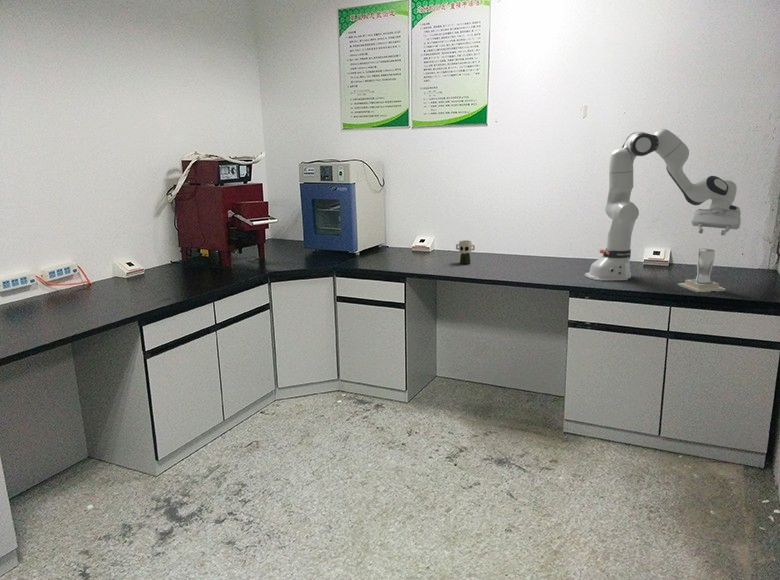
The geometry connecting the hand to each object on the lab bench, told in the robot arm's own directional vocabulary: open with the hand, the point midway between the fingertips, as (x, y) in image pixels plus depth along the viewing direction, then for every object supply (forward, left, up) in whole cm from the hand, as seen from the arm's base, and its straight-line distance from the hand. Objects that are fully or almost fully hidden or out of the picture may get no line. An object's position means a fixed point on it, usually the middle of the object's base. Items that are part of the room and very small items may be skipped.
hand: (711, 233), depth 267 cm
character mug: (-97, +75, -25) cm, 125 cm away
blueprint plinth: (-6, -5, -25) cm, 26 cm away
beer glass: (-6, -6, -22) cm, 23 cm away
